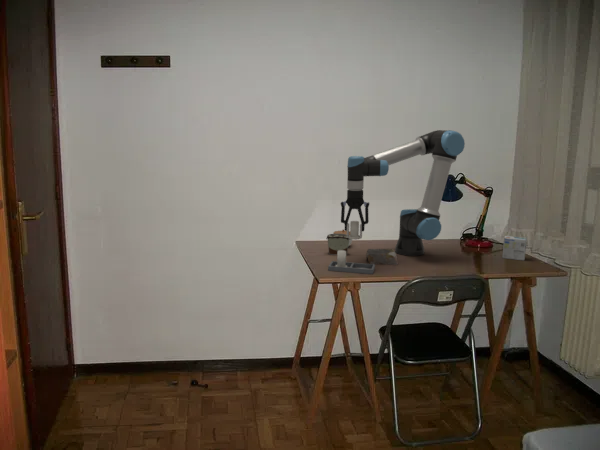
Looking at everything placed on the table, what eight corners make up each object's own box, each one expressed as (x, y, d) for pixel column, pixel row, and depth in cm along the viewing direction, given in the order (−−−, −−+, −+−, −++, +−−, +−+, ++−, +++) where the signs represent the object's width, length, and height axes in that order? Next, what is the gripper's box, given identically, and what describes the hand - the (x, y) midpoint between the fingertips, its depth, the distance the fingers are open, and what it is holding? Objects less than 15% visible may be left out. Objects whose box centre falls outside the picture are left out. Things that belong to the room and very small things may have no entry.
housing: (374, 268, 237) (375, 251, 235) (372, 274, 227) (373, 256, 226) (331, 264, 241) (332, 248, 240) (328, 270, 232) (328, 252, 230)
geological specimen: (365, 248, 254) (395, 247, 253) (365, 260, 255) (395, 259, 254) (366, 253, 243) (398, 252, 243) (367, 265, 244) (398, 265, 244)
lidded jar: (353, 248, 273) (354, 231, 271) (333, 248, 273) (334, 231, 271) (351, 244, 284) (352, 227, 282) (332, 243, 284) (333, 227, 282)
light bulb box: (524, 257, 260) (527, 237, 258) (524, 260, 254) (526, 240, 252) (502, 255, 264) (504, 235, 262) (501, 258, 258) (503, 237, 256)
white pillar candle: (360, 237, 244) (361, 220, 242) (359, 239, 239) (359, 223, 237) (349, 236, 246) (349, 220, 244) (347, 239, 240) (347, 222, 239)
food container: (349, 252, 266) (350, 233, 264) (349, 255, 259) (350, 236, 258) (326, 251, 267) (326, 232, 265) (325, 254, 261) (326, 235, 259)
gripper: (375, 188, 239) (374, 236, 244) (337, 187, 243) (336, 234, 248) (374, 191, 232) (373, 240, 236) (334, 189, 236) (333, 238, 241)
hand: (354, 237), depth 242 cm, fingers closed on white pillar candle, 5 cm apart
